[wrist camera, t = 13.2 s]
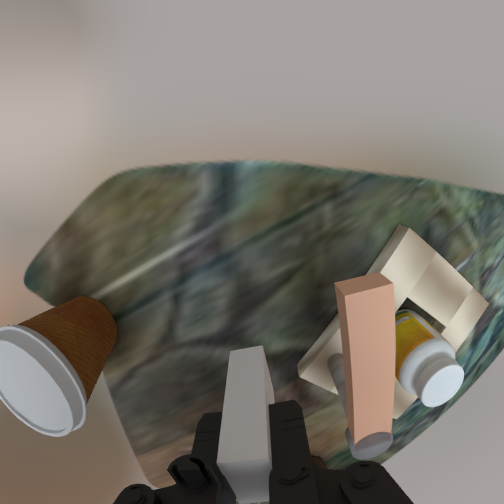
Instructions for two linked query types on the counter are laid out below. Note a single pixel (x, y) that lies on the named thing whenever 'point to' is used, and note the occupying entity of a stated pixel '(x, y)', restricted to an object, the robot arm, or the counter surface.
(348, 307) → the bar
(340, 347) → the keeper board
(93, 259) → the counter surface
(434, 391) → the supplement bottle
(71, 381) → the disposable coffee cup
